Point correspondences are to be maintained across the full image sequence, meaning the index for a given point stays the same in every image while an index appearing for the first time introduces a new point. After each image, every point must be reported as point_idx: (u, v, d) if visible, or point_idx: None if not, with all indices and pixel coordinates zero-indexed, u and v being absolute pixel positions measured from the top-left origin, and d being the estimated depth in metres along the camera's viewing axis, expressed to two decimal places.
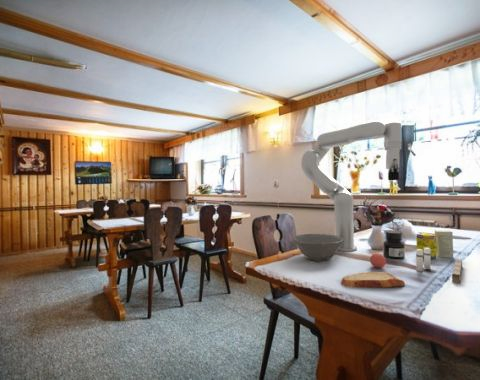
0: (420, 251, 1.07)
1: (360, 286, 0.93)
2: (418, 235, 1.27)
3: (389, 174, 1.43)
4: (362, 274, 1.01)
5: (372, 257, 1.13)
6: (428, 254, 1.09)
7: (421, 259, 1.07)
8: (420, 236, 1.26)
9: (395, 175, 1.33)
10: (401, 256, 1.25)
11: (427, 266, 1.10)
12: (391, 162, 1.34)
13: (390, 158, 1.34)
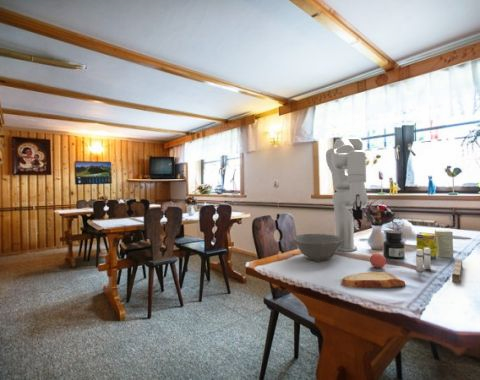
0: (420, 251, 1.07)
1: (360, 286, 0.93)
2: (418, 235, 1.27)
3: (354, 210, 1.23)
4: (362, 274, 1.01)
5: (372, 257, 1.13)
6: (428, 254, 1.09)
7: (421, 259, 1.07)
8: (420, 236, 1.26)
9: (358, 214, 1.12)
10: (401, 256, 1.25)
11: (427, 266, 1.10)
12: (354, 198, 1.14)
13: (352, 193, 1.14)
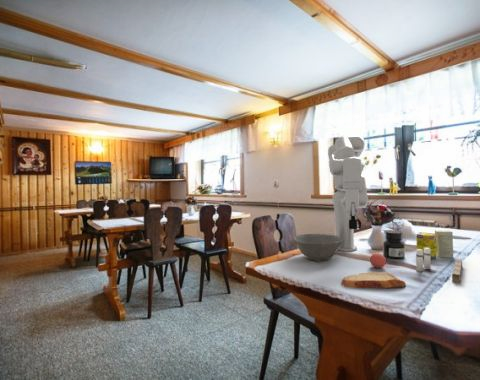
0: (420, 251, 1.07)
1: (360, 286, 0.92)
2: (418, 235, 1.27)
3: None
4: (362, 274, 1.01)
5: (372, 257, 1.13)
6: (428, 254, 1.09)
7: (421, 259, 1.07)
8: (420, 236, 1.26)
9: (353, 224, 1.15)
10: (401, 256, 1.25)
11: (427, 266, 1.10)
12: (349, 206, 1.12)
13: (348, 201, 1.13)
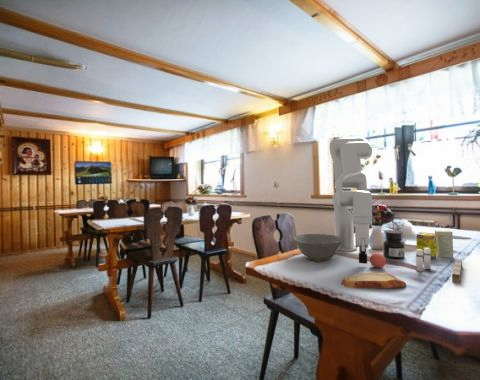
0: (420, 251, 1.07)
1: (360, 287, 0.92)
2: (418, 235, 1.27)
3: None
4: (363, 275, 1.01)
5: (372, 257, 1.13)
6: (428, 254, 1.09)
7: (421, 259, 1.07)
8: (420, 236, 1.26)
9: (363, 258, 1.14)
10: (401, 256, 1.25)
11: (427, 266, 1.10)
12: (359, 241, 1.11)
13: (357, 236, 1.12)
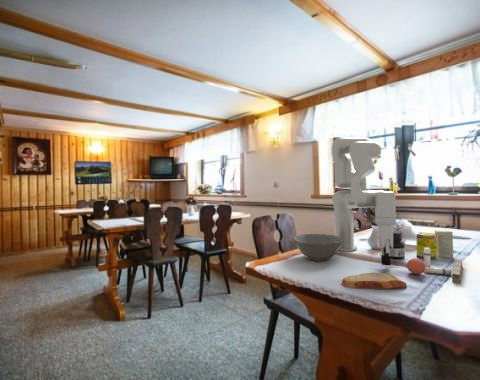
0: None
1: (361, 287, 0.92)
2: (418, 235, 1.27)
3: None
4: (363, 275, 1.00)
5: None
6: (428, 254, 1.09)
7: None
8: (420, 236, 1.26)
9: (386, 260, 1.11)
10: (401, 256, 1.25)
11: (427, 266, 1.10)
12: (383, 243, 1.08)
13: (382, 238, 1.09)
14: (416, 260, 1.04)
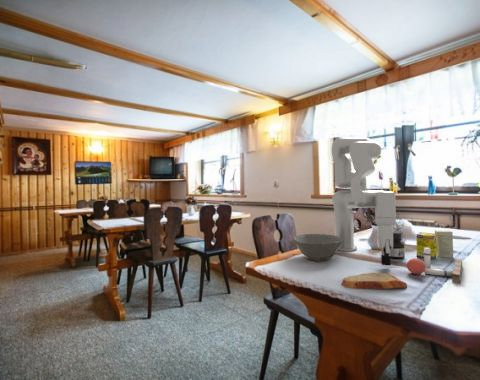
0: None
1: (361, 287, 0.92)
2: (418, 235, 1.27)
3: None
4: (363, 275, 1.00)
5: None
6: (428, 254, 1.09)
7: None
8: (420, 236, 1.26)
9: (386, 260, 1.11)
10: (401, 256, 1.25)
11: (427, 266, 1.10)
12: (383, 243, 1.08)
13: (382, 238, 1.09)
14: (416, 260, 1.04)
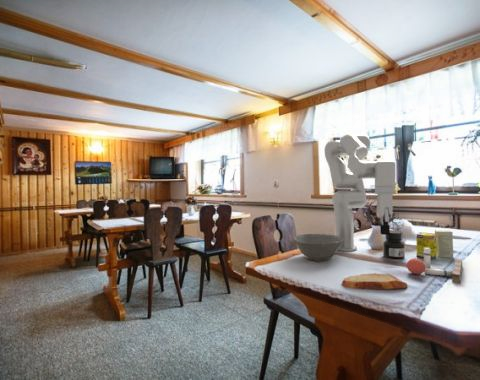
0: None
1: (361, 287, 0.92)
2: (418, 235, 1.27)
3: None
4: (364, 275, 1.00)
5: None
6: (428, 254, 1.09)
7: None
8: (420, 236, 1.26)
9: (385, 229, 1.11)
10: (401, 256, 1.25)
11: (427, 266, 1.10)
12: (382, 211, 1.08)
13: (381, 206, 1.08)
14: (416, 260, 1.04)
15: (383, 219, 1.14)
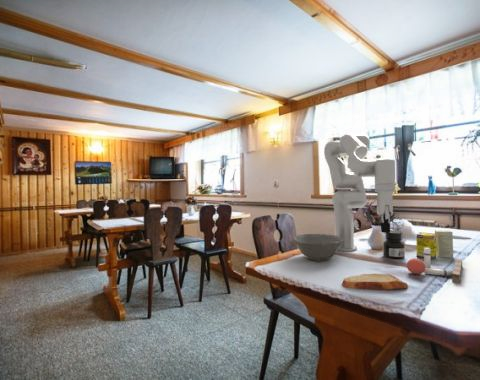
0: None
1: (361, 288, 0.91)
2: (418, 235, 1.27)
3: None
4: (364, 276, 1.00)
5: None
6: (428, 254, 1.09)
7: None
8: (420, 236, 1.26)
9: (386, 227, 1.11)
10: (401, 256, 1.25)
11: (427, 266, 1.10)
12: (382, 209, 1.08)
13: (381, 204, 1.08)
14: (416, 260, 1.04)
15: None
